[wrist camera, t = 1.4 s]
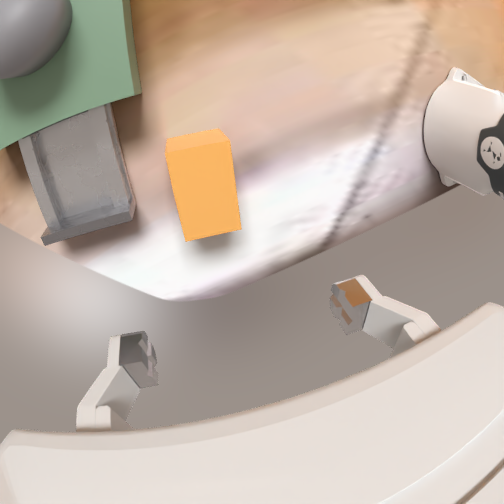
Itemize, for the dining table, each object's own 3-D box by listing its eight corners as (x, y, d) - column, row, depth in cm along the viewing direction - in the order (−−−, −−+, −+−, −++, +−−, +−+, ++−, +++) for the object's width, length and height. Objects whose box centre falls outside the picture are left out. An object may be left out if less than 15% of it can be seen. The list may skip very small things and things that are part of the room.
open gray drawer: (111, 101, 21) (101, 104, 18) (136, 203, 27) (131, 220, 24) (24, 136, 19) (7, 145, 16) (56, 227, 26) (44, 245, 23)
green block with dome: (127, -32, 13) (111, -71, 6) (142, 94, 21) (126, 99, 14) (-12, 33, 11) (-62, 32, 4) (5, 148, 19) (-44, 178, 12)
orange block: (218, 128, 25) (229, 140, 21) (229, 201, 30) (241, 229, 25) (167, 138, 25) (164, 153, 20) (182, 211, 29) (185, 241, 25)
